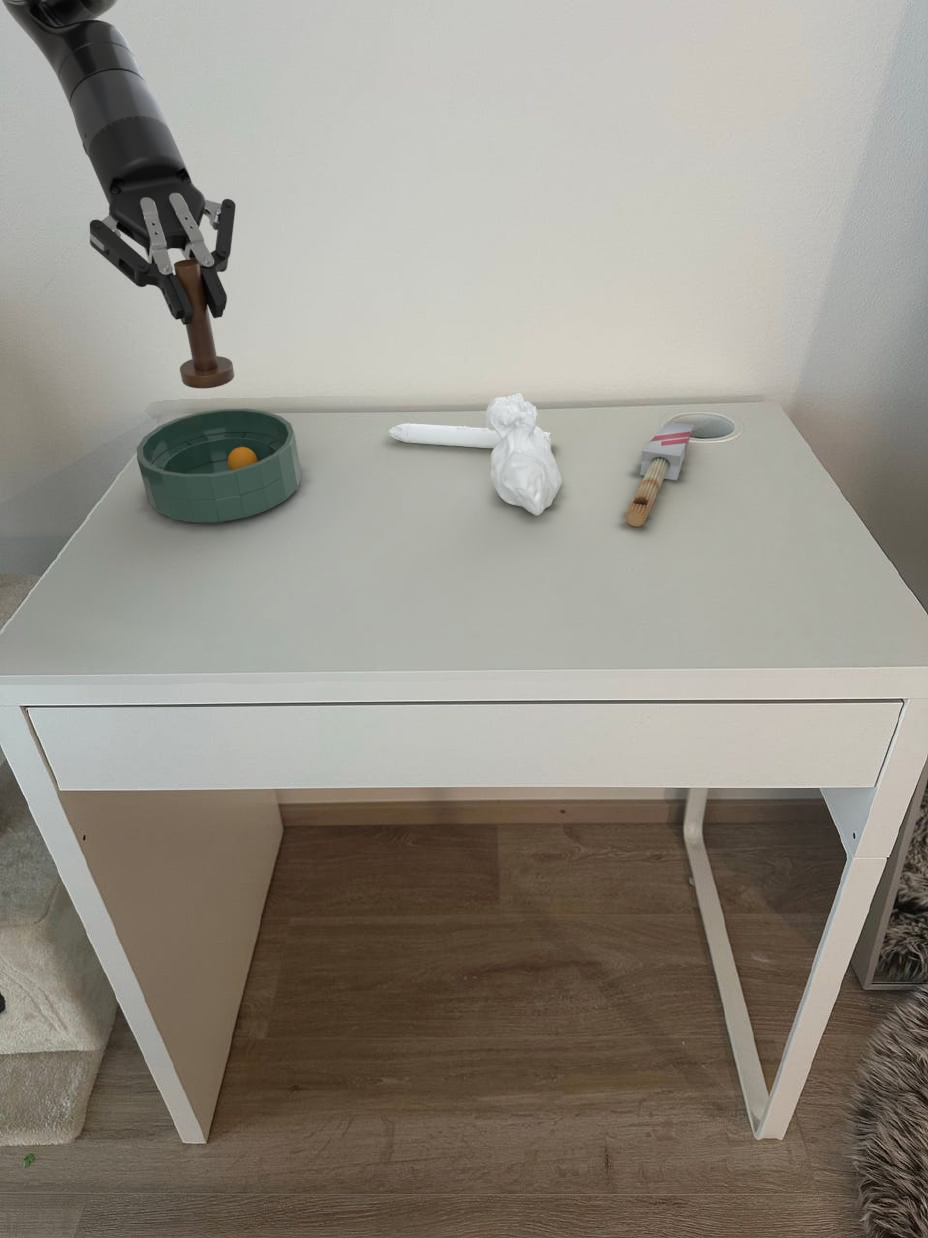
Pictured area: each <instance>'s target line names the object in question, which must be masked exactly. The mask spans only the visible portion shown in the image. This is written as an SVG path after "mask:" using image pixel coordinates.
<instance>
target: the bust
mask: <svg viewBox="0 0 928 1238" xmlns="http://www.w3.org/2000/svg"><path fill="white" fill-rule="evenodd" d="M538 414H539V413H538V410H537V406H536V405H533V404H532V403H531V402H530V401H528V400H526V401H525V399H524V397H523V394H522V393H520V392H519V393H516V394H515V393H513V394H512V395H511V394H510V395H508V396H498V397H495V398H493V399H492V400H491V401H490V402H489V404H488V406H487V408H486V409H485V413H484V416H483V423H484V426H485V427H487V428H488V429H489V430H491V431H496V432H497V433H498V435H499V436H500V438H501V440H500V442H499V443H498V445H497V446H496V447H495V448H494V449H493V450H492V451H491V454H490V461H491V462H490V463H491V464H490V465H491V466H490V468H491V470H490V479H491V483H492V485H493V486H494V488H495V490H496V493H497V494H498V496H499V497H500V498H501V500H503V501H504V502H505V503H507V504H509V505H512V506H519V507H522V508H523V509H525V510H526V511H527V512H528V513H531V514H532V515H533V516H541V515H542V514H543V512H544V511H545V509H547V508H550V507H551V506H552V504H553V501H554V499H555V498H556V496H557V495H558V492H559V490H560V489H561V486H562V481H563V479H562V475H561V473H560V470H559V467H558V464H557V461H556V459H555V456H554V454H553V452H552V445H551V446H550V444H549V441H548V438H547V436H546V435H545V434H544V432H545V431H544V430H543V429H542V428H540V427H539V426H537V419H538Z"/></svg>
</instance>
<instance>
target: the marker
mask: <svg viewBox="0 0 928 1238" xmlns="http://www.w3.org/2000/svg"><path fill="white" fill-rule="evenodd" d="M543 432H544V434H545V435H546V436H547V438H548V441H549V444H550V446H551V447H552V437H551V436H552V433H551V432H547V431H543ZM387 433H388V434H389V435H390V436H391V437H392V438H393V439H395V440H397V441H400V442H403V443H408V444H420V445H421V444H423V445H437V446H449V447H464V448H465V447H467V448H478V449H479V448H480V449H493V450H494V448H495V447H496V446H497V445H498V443H499V442H500V440H501V438H500V436H499V435H498V433H497V432H496V431H491V430H489V429H488V428H487V427H486V426H485V427H483V426H481V427H471V426H469V425H468V426H467V425H463V426H462V425H461V424H459V425H457V426H455V425H442V424H441V425H440V424H426V423H425V424H423V423H410V422H409V423H408V422H407V423H401V424H398V425H397V424H396V425H394V426H393V427H391V428H389V430H388V431H387Z"/></svg>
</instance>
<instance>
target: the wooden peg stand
mask: <svg viewBox="0 0 928 1238" xmlns="http://www.w3.org/2000/svg"><path fill="white" fill-rule="evenodd" d="M173 268H174V273H175V274H174V275H176V274H177V275H178V277H179V279H180V282H181V284H182V286H183V289H184V291H185V293H186V296H187V298H188V300H189V303H190V305H191V307H192V310H193V319H192V323H191V324H186V325H185V329H186V334H187V341H188V344H189V349H190V354H191V359H188V360H187V361H185V362H183V363H182V364H181V365H180V367H179V373H180V378H181V382H182V384H183V385H184V386H185V387H189V388H193V389H201V390H203V389H212V388H217V387H221V386H222V387H223V386H225V385H226V384H228V383H230V382H232V381H233V380H234V378H235V370H234V364H233V362H232V360H231V359H230V358H228V357H224V356H219V355H217V350H216V345H215V339H214V333H213V329H212V323H211V317H210V310H209V307H208V305H207V300H206V295H205V289H204V283H203V278H202V272H201V267H200V262H199V261H197V260H186V259H183V260H178V261H176V262H174V264H173Z"/></svg>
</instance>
